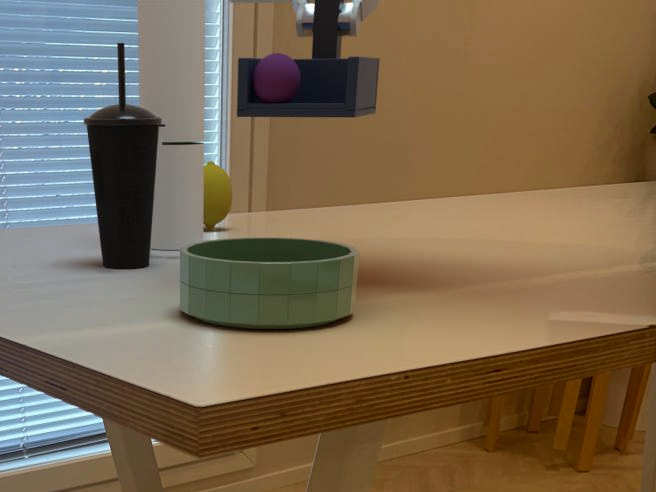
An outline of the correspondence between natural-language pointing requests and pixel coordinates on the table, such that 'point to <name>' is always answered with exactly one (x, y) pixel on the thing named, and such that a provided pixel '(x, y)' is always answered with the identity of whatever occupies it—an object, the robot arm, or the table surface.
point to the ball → (276, 79)
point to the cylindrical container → (175, 114)
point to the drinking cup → (124, 176)
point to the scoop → (318, 77)
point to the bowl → (268, 282)
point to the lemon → (216, 195)
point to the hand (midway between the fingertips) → (326, 30)
